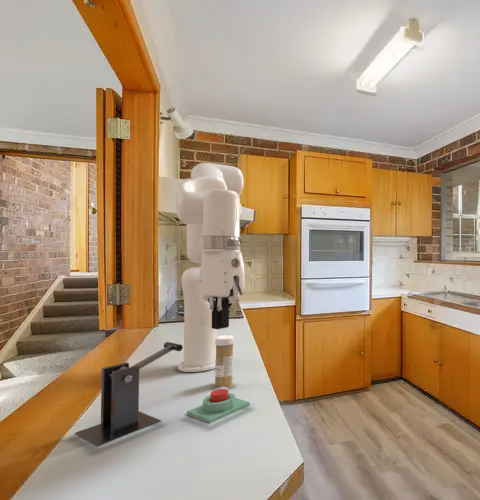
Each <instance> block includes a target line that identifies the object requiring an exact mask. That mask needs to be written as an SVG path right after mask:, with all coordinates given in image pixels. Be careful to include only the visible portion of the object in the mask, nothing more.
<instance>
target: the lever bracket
mask: <svg viewBox="0 0 480 500" xmlns="http://www.w3.org/2000/svg"><path fill="white" fill-rule="evenodd" d="M123 366H124V367H127V368H125V369H121V370H117V369H119V368H121V367H123ZM132 366H133V365H132ZM132 366H130V363H129V362H123V363H119V364H115V365H114V364H113V365H110V366H104V367H102V368H101V387H100V388H101V389H100V390H101V393H100V394H101V395H100V423H98V424H96V425H93V426H90V427H87V428H84V429H82V430H79V431H76V432H74V434H75V435H77V436H78V437H79V438H82V439H84V440H85V441H87V442H89V443H90V444H92V445H94V446H96V447H99V446H103V445H105V444H108V443H110V442H112V441H114V440H118V439H121V438H123V437H125V436H128V435H130V434H133V433H135V432H138V431H140V430H143V429H146V428H147V427H150V426H153V425H156V424H158V423H160V422H162V420H161V419H159V418H157V417H154V416H151V415H149V414H147V413H144V412H141V411H139V405H140V404H139V403H140V400H139V399H140V369H139V366H133V367H132ZM115 370H116V371H115ZM110 373H112V383H111V380H110V378H109V375H108V374H110Z"/></svg>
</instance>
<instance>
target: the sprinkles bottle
mask: <svg viewBox="0 0 480 500" xmlns="http://www.w3.org/2000/svg"><path fill="white" fill-rule="evenodd" d="M234 344H235V337H234V335H230V334H227V335H225V334H223V335H219V336H218V335H217V337H216V338H215V345H216V361H215V368H214V376H215V377H214V386H216V387H220V388H221V387H223V388H226V389H227V388H228V389H231V388H232V387H233V386H234V383H233V374H234Z"/></svg>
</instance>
